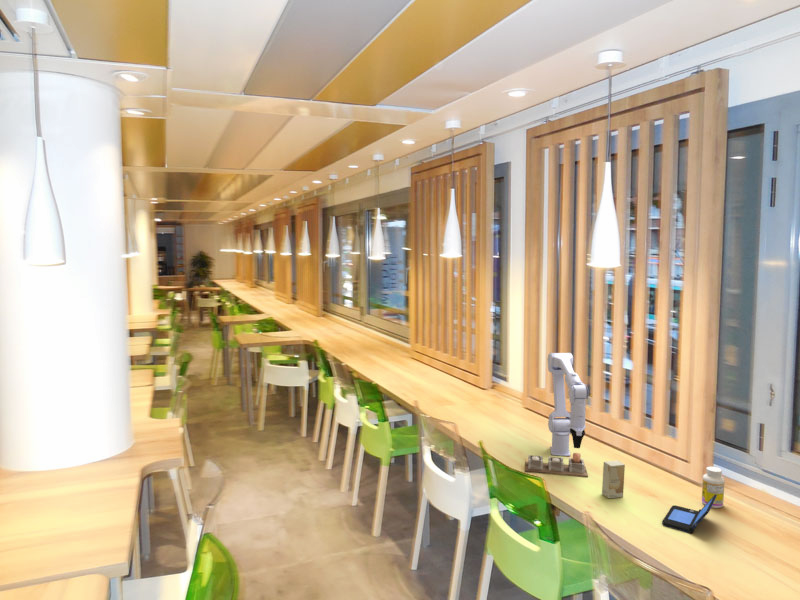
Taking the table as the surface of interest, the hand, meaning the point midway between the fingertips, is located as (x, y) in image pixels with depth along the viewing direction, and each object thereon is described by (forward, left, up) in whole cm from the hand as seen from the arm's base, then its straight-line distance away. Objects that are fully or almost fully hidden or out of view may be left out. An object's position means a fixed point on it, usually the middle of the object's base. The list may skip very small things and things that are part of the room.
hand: (576, 447), depth 223 cm
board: (0, -8, -10) cm, 13 cm away
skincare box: (+20, +11, -10) cm, 25 cm away
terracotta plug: (0, 0, -6) cm, 6 cm away
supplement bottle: (+20, +44, -10) cm, 49 cm away
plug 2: (0, -8, -9) cm, 12 cm away
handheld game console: (+36, +32, -10) cm, 49 cm away
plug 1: (0, -16, -9) cm, 18 cm away
